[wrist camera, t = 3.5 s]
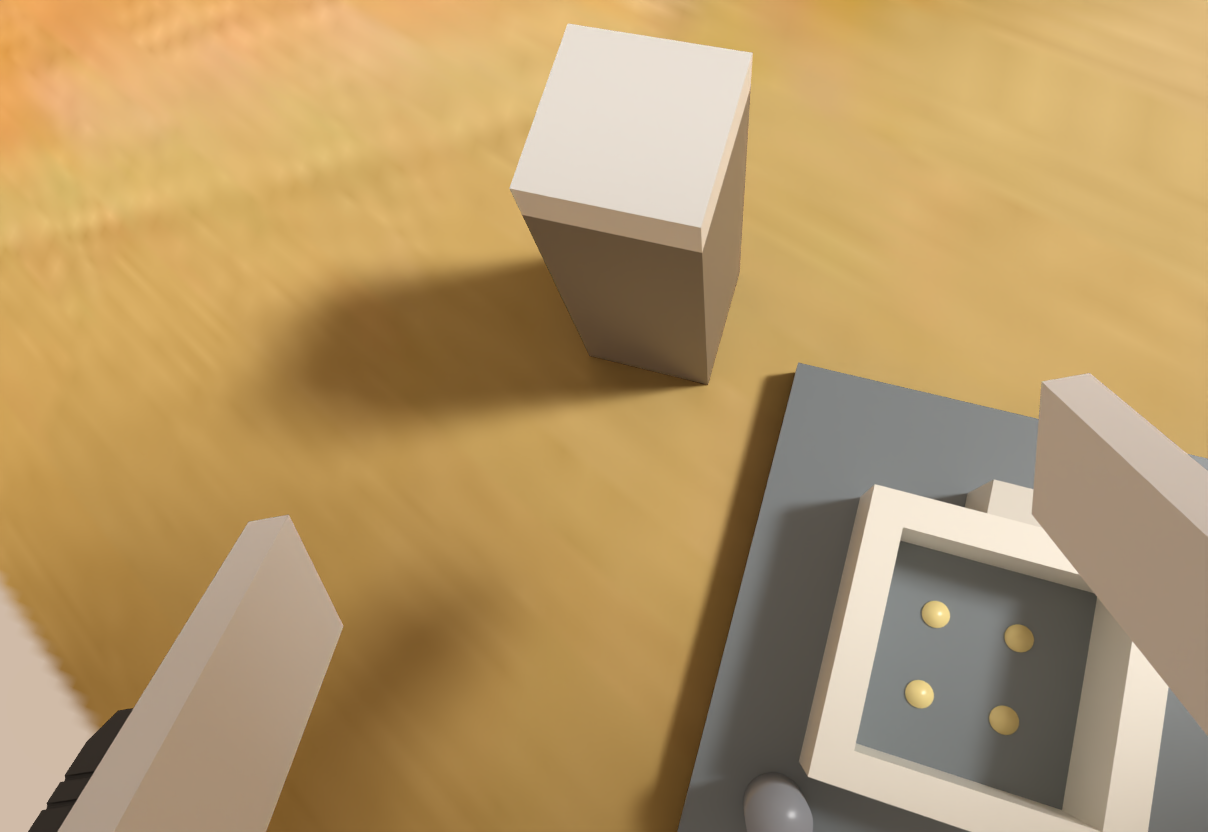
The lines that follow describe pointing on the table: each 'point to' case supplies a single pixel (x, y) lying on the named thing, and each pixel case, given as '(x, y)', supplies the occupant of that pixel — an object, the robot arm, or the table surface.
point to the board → (928, 644)
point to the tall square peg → (640, 193)
